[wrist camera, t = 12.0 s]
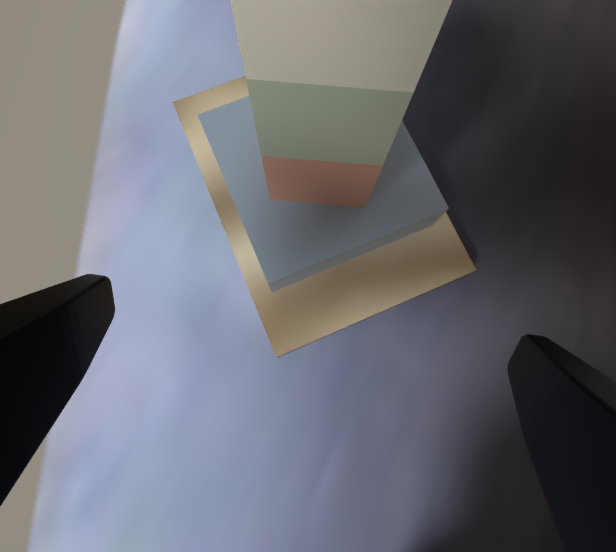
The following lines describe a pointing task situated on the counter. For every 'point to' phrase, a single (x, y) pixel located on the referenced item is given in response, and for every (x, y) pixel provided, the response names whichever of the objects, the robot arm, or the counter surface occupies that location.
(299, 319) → the board
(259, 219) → the base brick
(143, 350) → the counter surface
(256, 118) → the brick column
